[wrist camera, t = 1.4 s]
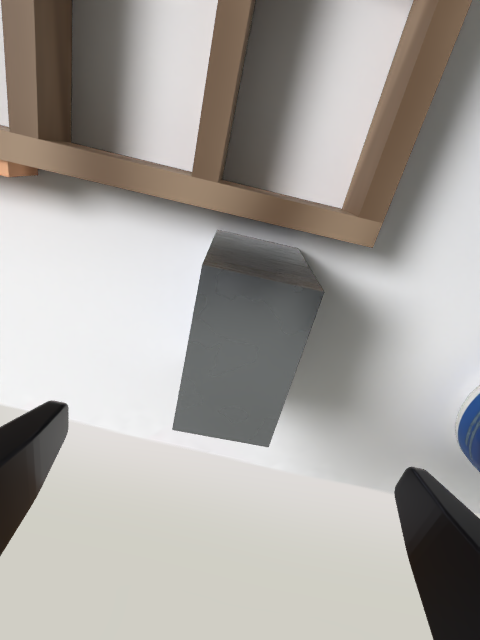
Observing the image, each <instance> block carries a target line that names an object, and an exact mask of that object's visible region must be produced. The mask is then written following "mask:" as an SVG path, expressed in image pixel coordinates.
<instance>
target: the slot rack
mask: <svg viewBox="0 0 480 640" xmlns="http://www.w3.org/2000/svg"><path fill="white" fill-rule="evenodd" d="M255 2H256V0H218V5H217V11H216V18H215V25H214V31H213V38H212V45H211V51H210V58H209V65H208V71H207V78H206V85H205V91H204V98H203V105H202V111H201V118H200V124H199V131H198V138H197V144H196V151H195V158H194V164H193V171H192V172H189V171H185V170H181V169H177V168H173V167H169V166H165V165H161V164H156V163H152V162H148V161H144V160H140V159H136V158H132V157H128V156H124V155H120V154H116V153H112V152H108V151H104V150H99V149H95V148H91V147H87V146H83V145H79V144H75V143H71V76H72V0H1V5H2V21H3V36H4V52H5V67H6V83H7V98H8V114H9V127H6V126H2V125H0V175H2V176H6V177H18V176H33V175H38V169H42V170H46V171H51V172H55V173H59V174H63V175H68V176H72V177H76V178H80V179H84V180H89V181H93V182H97V183H101V184H105V185H110V186H114V187H118V188H122V189H127V190H131V191H135V192H139V193H143V194H148V195H152V196H156V197H160V198H164V199H169V200H173V201H177V202H181V203H186V204H190V205H194V206H198V207H202V208H207V209H211V210H215V211H219V212H223V213H228V214H232V215H236V216H240V217H245V218H249V219H253V220H257V221H261V222H266V223H270V224H274V225H278V226H282V227H287V228H291V229H295V230H299V231H304V232H308V233H312V234H316V235H320V236H325V237H329V238H333V239H337V240H341V241H346V242H350V243H354V244H358V245H363V246H367V247H371V248H373V246H374V243H375V241H376V239H377V236H378V234H379V231H380V229H381V226H382V224H383V221H384V219H385V216H386V214H387V211H388V209H389V206H390V204H391V201H392V199H393V196H394V194H395V191H396V189H397V186H398V184H399V181H400V179H401V176H402V174H403V171H404V169H405V166H406V164H407V161H408V159H409V156H410V154H411V151H412V149H413V146H414V144H415V141H416V139H417V136H418V134H419V132H420V129H421V127H422V124H423V122H424V119H425V117H426V114H427V112H428V109H429V107H430V104H431V102H432V99H433V97H434V94H435V92H436V89H437V87H438V84H439V82H440V79H441V77H442V74H443V72H444V69H445V67H446V64H447V62H448V59H449V57H450V54H451V52H452V49H453V47H454V44H455V42H456V39H457V37H458V34H459V32H460V29H461V27H462V24H463V22H464V20H465V17H466V15H467V12H468V10H469V7H470V5H471V2H472V0H414V1H413V4H412V6H411V9H410V12H409V15H408V18H407V21H406V24H405V27H404V30H403V33H402V36H401V38H400V41H399V44H398V47H397V50H396V53H395V56H394V59H393V62H392V65H391V68H390V70H389V73H388V76H387V79H386V82H385V85H384V88H383V91H382V94H381V97H380V100H379V102H378V105H377V108H376V111H375V114H374V117H373V120H372V123H371V126H370V129H369V132H368V134H367V137H366V140H365V143H364V146H363V149H362V152H361V155H360V158H359V161H358V164H357V166H356V169H355V172H354V175H353V178H352V181H351V184H350V187H349V190H348V193H347V196H346V198H345V201H344V204H343V207H342V209H340V208H336V207H332V206H328V205H324V204H319V203H315V202H311V201H307V200H303V199H299V198H295V197H291V196H287V195H283V194H279V193H275V192H271V191H266V190H262V189H258V188H254V187H250V186H246V185H242V184H238V183H234V182H230V181H226V180H222V178H223V172H224V167H225V162H226V156H227V151H228V146H229V140H230V135H231V130H232V124H233V119H234V114H235V108H236V103H237V98H238V92H239V87H240V82H241V76H242V71H243V66H244V60H245V55H246V50H247V44H248V39H249V34H250V28H251V23H252V18H253V12H254V7H255Z"/></svg>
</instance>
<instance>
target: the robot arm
mask: <svg viewBox="0 0 480 640" xmlns="http://www.w3.org/2000/svg"><path fill="white" fill-rule="evenodd" d="M67 432H68V405H67V404H66V403H63V402H58V401H48V402H46V403H44V404H42V405H40V406H38V407H36V408H35V409H33V410H31V411H29V412H27V413H25V414H23V415H22V416H20V417H18V418H16V419H14V420H12V421H10V422H8V423H7V424H5V425H3V426H1V427H0V556H1V554H2V552H3V551H4V549H5V548H6V546H7V544H8V543H9V541H10V540H11V538H12V536H13V535H14V533H15V531H16V530H17V528H18V527H19V525H20V523H21V522H22V520H23V519H24V517H25V515H26V513H27V512H28V510H29V509H30V507H31V505H32V504H33V502H34V500H35V499H36V497H37V495H38V493H39V491H40V489H41V487H42V485H43V483H44V481H45V479H46V477H47V475H48V473H49V471H50V469H51V467H52V464H53V462H54V460H55V458H56V456H57V454H58V452H59V450H60V448H61V446H62V444H63V442H64V440H65V438H66V435H67ZM395 500H396V504H397V508H398V513H399V518H400V523H401V528H402V532H403V537H404V541H405V546H406V550H407V554H408V558H409V562H410V565H411V569H412V572H413V575H414V578H415V582H416V584H417V588H418V591H419V594H420V598H421V601H422V604H423V607H424V611H425V614H426V617H427V620H428V623H429V626H430V630H431V633H432V636H433V640H480V519H479V518H478V517H477V516H476V515H475V514H474V513H473V512H471V511H470V510H469V509H468V508H467V507H466V506H465V505H464V504H463V503H462V502H460V501H459V500H458V499H457V498H456V497H455V496H454V495H453V494H452V493H450V492H449V491H448V490H447V489H446V488H445V487H444V486H443V485H442V484H441V483H439V482H438V481H437V480H436V479H435V478H434V477H433V476H432V475H431V474H429V473H428V472H427V471H426V470H424V469H420V468H415V467H409V468H407V469H406V470H405V472H404V474H403V475H402V477H401V478H400V480H399V481H398V483H397V485H396V487H395Z"/></svg>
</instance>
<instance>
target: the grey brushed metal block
mask: <svg viewBox="0 0 480 640" xmlns="http://www.w3.org/2000/svg"><path fill="white" fill-rule="evenodd" d="M323 294H324V291H323V289H322V287H321V286H320V284H319V282H318V281H317V279H316V277H315V276H314V274H313V272H312V271H311V269H310V267H309V266H308V264H307V262H306V261H305V259H304V257H303V256H302V254H301V252H300V251H299V249H298V248H294V247H290V246H286V245H281V244H277V243H273V242H268V241H264V240H260V239H255V238H251V237H247V236H243V235H238V234H234V233H230V232H225V231H221V230H217V231H216V233H215V236H214V238H213V241H212V243H211V245H210V248H209V250H208V252H207V255H206V257H205V260H204V262H203V264H202V269H201V275H200V280H199V286H198V291H197V297H196V302H195V308H194V313H193V319H192V324H191V330H190V335H189V341H188V346H187V352H186V357H185V362H184V368H183V373H182V379H181V384H180V390H179V395H178V401H177V406H176V412H175V417H174V423H173V428H172V430H176V431H181V432H187V433H192V434H198V435H203V436H209V437H215V438H220V439H226V440H231V441H237V442H242V443H248V444H253V445H259V446H264V447H269V444H270V442H271V439H272V436H273V433H274V430H275V428H276V425H277V422H278V419H279V417H280V414H281V411H282V408H283V405H284V403H285V400H286V397H287V394H288V391H289V389H290V386H291V383H292V380H293V378H294V375H295V372H296V369H297V366H298V364H299V361H300V358H301V355H302V352H303V350H304V347H305V344H306V341H307V339H308V336H309V333H310V330H311V327H312V325H313V322H314V319H315V316H316V313H317V311H318V308H319V305H320V302H321V300H322V297H323Z"/></svg>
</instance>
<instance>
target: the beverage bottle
mask: <svg viewBox="0 0 480 640" xmlns="http://www.w3.org/2000/svg"><path fill="white" fill-rule="evenodd" d="M455 432H456V438H457V442H458V444H459V446H460V448H461V450H462V451H463V453H464V454H465V455H466V457H467V458H468V459H469V461H470V462H471V463H472V464H473V465H474V467H475V468H476V469H477V470H478V471H479V472H480V385H479V386H478V387H477V388H476V389H475V390H474V391H473V392H472V393H471V394H470V395H469V396H468V398H467V399H466V400H465V402H464V403H463V405H462V407H461V409H460V411H459V413H458V416H457V419H456V426H455Z"/></svg>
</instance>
